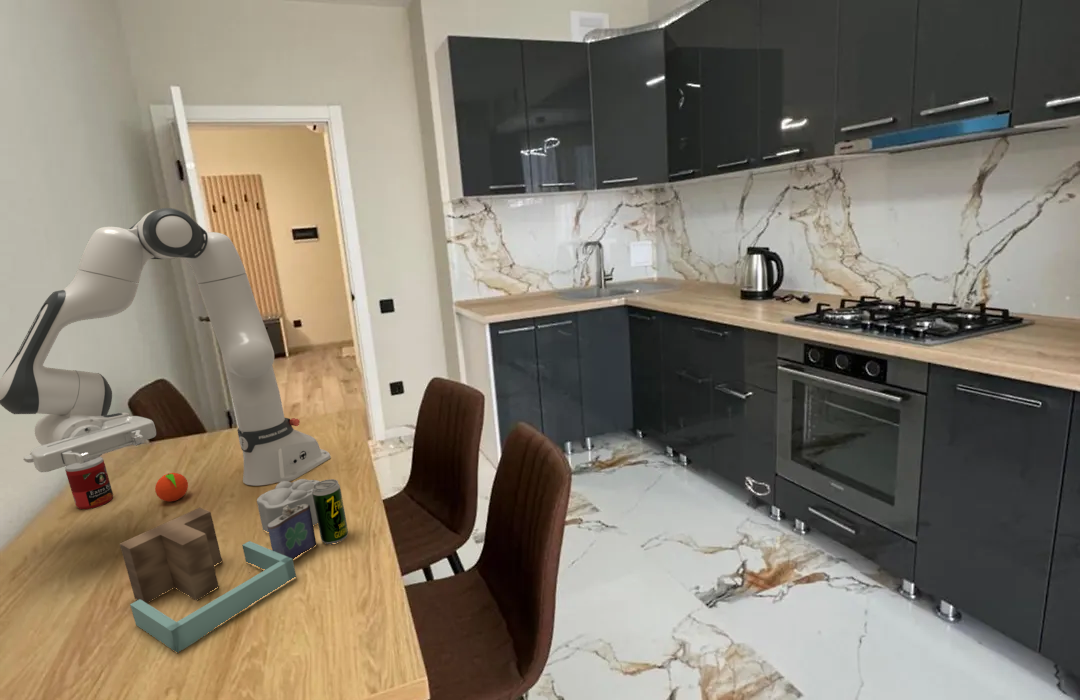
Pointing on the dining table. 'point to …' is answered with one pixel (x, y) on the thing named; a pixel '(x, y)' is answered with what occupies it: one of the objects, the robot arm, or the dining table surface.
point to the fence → (217, 601)
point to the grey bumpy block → (286, 500)
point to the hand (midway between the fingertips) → (113, 449)
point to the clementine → (171, 487)
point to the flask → (292, 531)
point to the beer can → (330, 511)
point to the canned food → (89, 483)
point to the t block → (174, 557)
